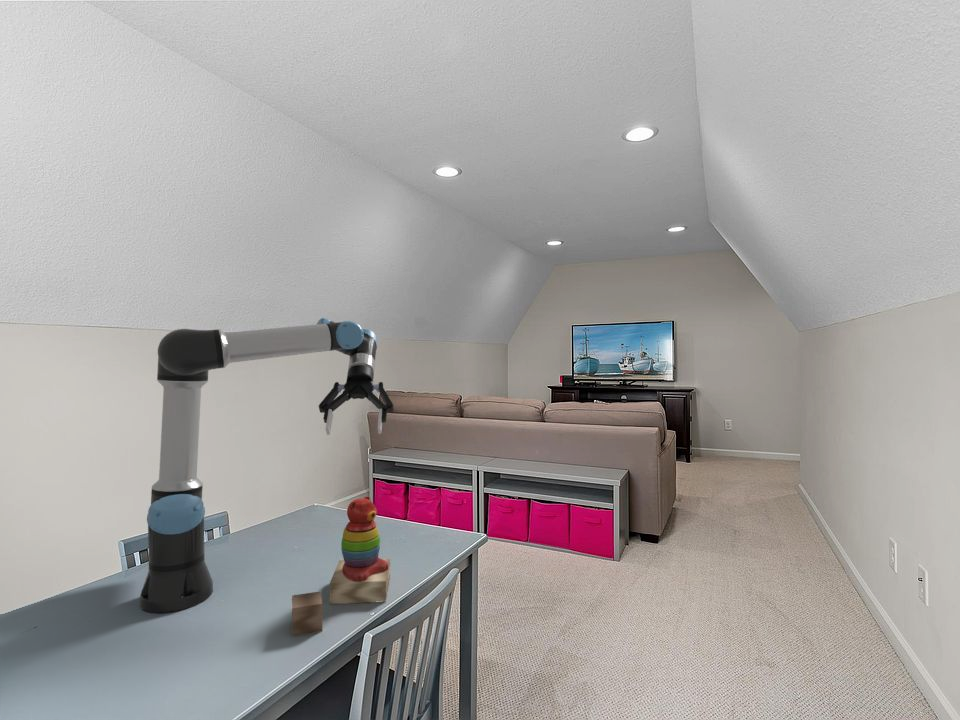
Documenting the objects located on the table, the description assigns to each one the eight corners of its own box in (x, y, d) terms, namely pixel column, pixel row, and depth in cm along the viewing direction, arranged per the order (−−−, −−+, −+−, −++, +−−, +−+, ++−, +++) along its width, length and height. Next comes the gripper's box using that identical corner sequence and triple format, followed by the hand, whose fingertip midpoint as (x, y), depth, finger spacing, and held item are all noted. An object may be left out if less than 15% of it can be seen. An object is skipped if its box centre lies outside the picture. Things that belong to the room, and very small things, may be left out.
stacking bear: (358, 583, 123) (357, 508, 122) (331, 572, 129) (330, 500, 128) (392, 568, 131) (392, 497, 131) (365, 558, 138) (365, 490, 137)
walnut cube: (292, 636, 110) (292, 608, 109) (292, 622, 115) (292, 595, 115) (322, 631, 112) (322, 603, 112) (320, 617, 117) (320, 591, 117)
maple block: (329, 604, 123) (329, 583, 123) (339, 579, 136) (339, 560, 136) (385, 601, 124) (385, 581, 124) (390, 577, 137) (390, 558, 137)
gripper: (404, 380, 159) (401, 438, 144) (319, 380, 157) (308, 440, 142) (403, 363, 153) (400, 422, 139) (315, 363, 151) (303, 423, 137)
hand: (353, 431), depth 141 cm, fingers open, 13 cm apart
